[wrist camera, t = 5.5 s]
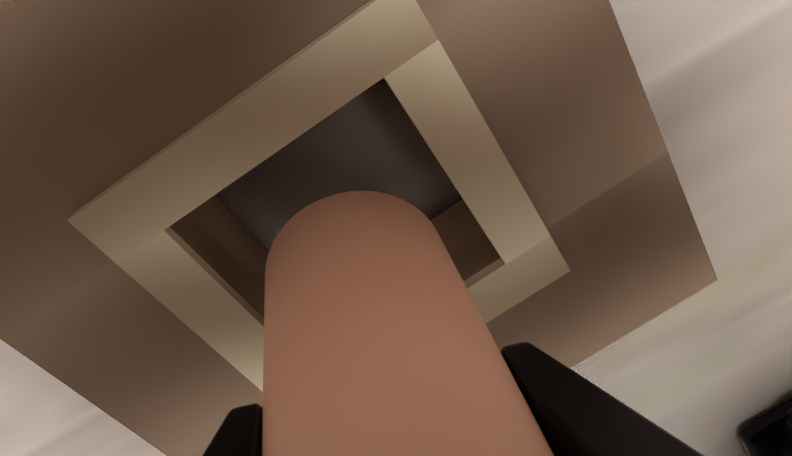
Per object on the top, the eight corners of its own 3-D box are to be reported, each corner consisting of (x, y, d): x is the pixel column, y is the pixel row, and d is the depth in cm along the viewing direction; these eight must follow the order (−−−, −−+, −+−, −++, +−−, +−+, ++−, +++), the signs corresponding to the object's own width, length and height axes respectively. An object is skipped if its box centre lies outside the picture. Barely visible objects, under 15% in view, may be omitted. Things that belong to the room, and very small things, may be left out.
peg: (474, 283, 12) (822, 917, 5) (335, 371, 13) (434, 1091, 5) (383, 154, 11) (698, 826, 3) (225, 260, 11) (110, 1108, 3)
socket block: (648, 223, 18) (725, 285, 15) (282, 450, 20) (285, 548, 17) (420, -289, 11) (476, -364, 8) (-115, 125, 13) (-234, 191, 10)
